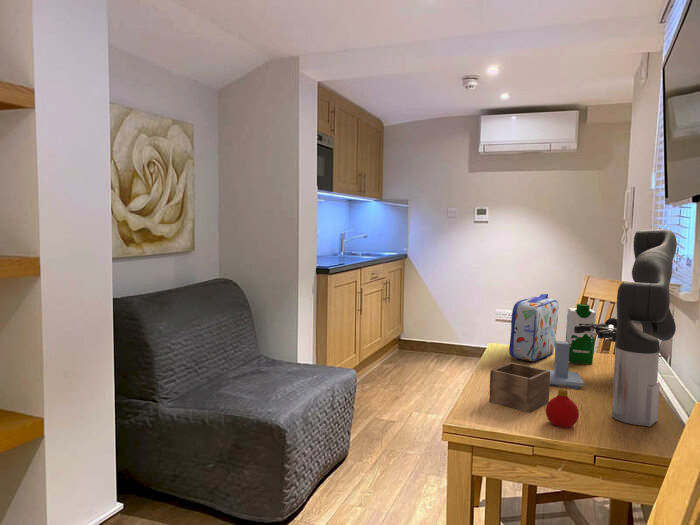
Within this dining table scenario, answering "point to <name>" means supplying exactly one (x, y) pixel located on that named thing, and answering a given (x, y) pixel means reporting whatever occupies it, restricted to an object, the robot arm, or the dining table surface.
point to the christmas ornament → (562, 410)
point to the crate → (519, 387)
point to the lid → (564, 368)
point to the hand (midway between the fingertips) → (586, 332)
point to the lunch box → (533, 328)
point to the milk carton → (580, 334)
